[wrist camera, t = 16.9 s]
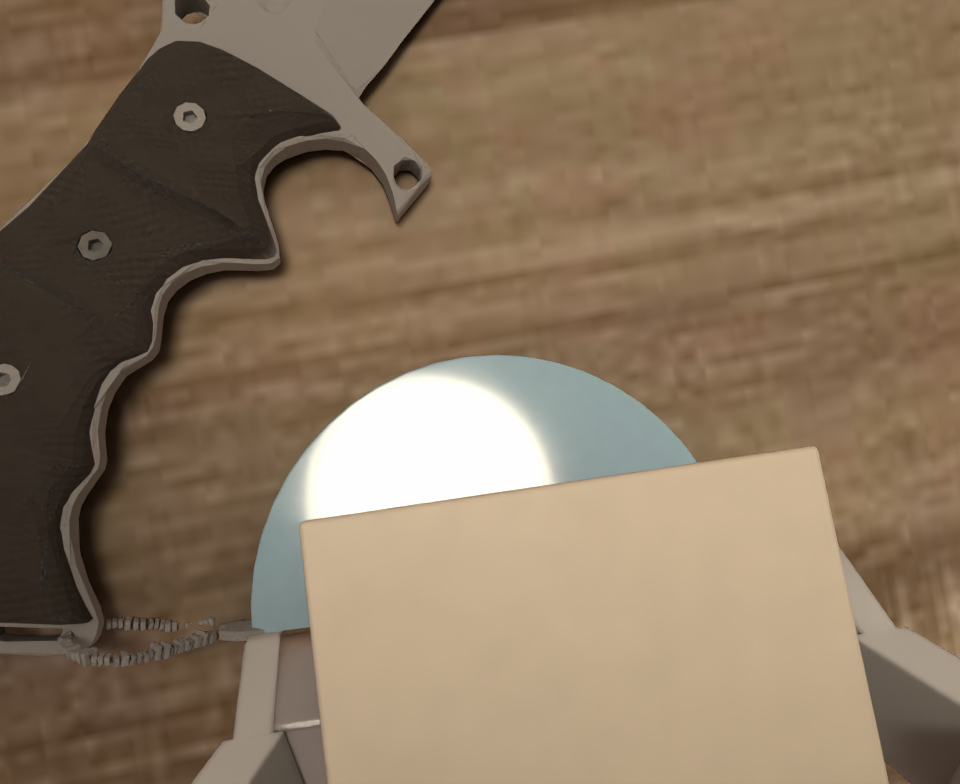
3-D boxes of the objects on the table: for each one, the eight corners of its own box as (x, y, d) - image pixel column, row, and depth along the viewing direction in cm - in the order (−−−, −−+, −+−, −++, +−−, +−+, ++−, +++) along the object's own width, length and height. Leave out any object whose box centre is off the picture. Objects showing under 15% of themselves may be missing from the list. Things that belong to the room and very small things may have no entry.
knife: (378, -428, 27) (368, -596, 23) (662, -323, 27) (702, -473, 23) (-121, 583, 21) (-255, 600, 17) (242, 721, 21) (196, 771, 17)
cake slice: (395, 770, 16) (352, 1022, 8) (365, 520, 16) (297, 521, 9) (684, 719, 16) (917, 911, 8) (642, 479, 17) (819, 444, 9)
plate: (286, 888, 20) (278, 908, 19) (235, 393, 22) (226, 387, 21) (771, 800, 21) (787, 814, 20) (682, 334, 23) (693, 325, 22)
